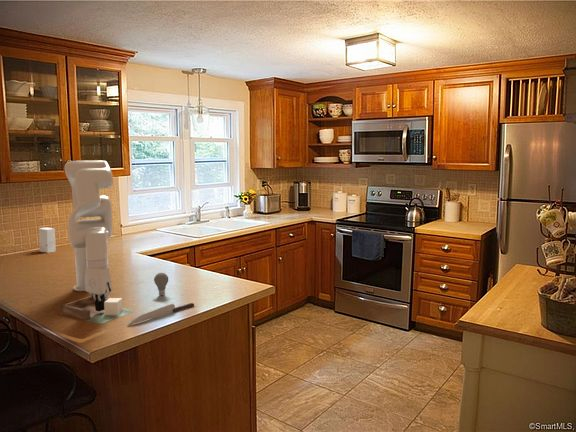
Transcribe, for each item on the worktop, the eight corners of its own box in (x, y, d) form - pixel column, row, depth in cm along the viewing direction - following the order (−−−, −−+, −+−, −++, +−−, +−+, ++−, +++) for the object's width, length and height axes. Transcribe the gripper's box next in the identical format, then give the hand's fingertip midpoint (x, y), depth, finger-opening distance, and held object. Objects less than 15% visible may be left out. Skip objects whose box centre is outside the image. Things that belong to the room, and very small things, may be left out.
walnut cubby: (95, 304, 195) (94, 294, 194) (135, 313, 183) (134, 303, 183) (60, 315, 181) (59, 305, 180) (100, 326, 169) (100, 316, 169)
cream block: (110, 310, 184) (109, 298, 183) (122, 310, 183) (122, 298, 183) (104, 314, 179) (104, 302, 178) (117, 315, 178) (117, 302, 178)
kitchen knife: (192, 298, 191) (124, 316, 169) (194, 298, 191) (126, 316, 168) (192, 308, 192) (124, 327, 170) (194, 308, 191) (126, 328, 169)
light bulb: (170, 293, 209) (169, 271, 208) (167, 297, 203) (166, 274, 202) (156, 293, 209) (155, 271, 207) (153, 297, 203) (152, 274, 201)
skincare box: (39, 251, 295) (37, 228, 293) (48, 250, 301) (46, 226, 299) (48, 253, 292) (46, 229, 289) (56, 251, 297) (55, 227, 295)
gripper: (75, 263, 179) (79, 309, 181) (102, 267, 171) (105, 316, 174) (92, 259, 185) (95, 304, 188) (119, 263, 178) (121, 310, 180)
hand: (100, 310), depth 181 cm, fingers closed
